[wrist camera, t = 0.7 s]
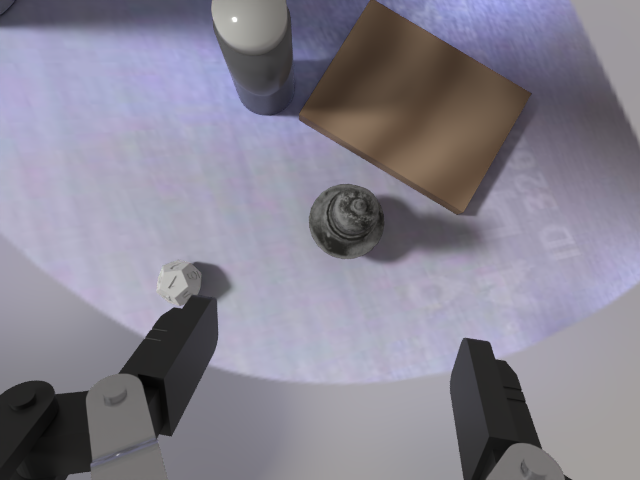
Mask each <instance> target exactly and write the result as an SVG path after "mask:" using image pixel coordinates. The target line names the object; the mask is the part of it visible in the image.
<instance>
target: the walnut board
mask: <svg viewBox="0 0 640 480" xmlns="http://www.w3.org/2000/svg"><path fill="white" fill-rule="evenodd" d="M531 94H532V93H530V92H528V91H527V90H525V89H523V88H522V87H520V86H518V85H516V84H515V83H513V82H511V81H510V80H508V79H506V78H505V77H503V76H501V75H500V74H498V73H496V72H495V71H493V70H491V69H490V68H488V67H486V66H485V65H483V64H481V63H479V62H478V61H476V60H474V59H473V58H471V57H469V56H468V55H466V54H464V53H463V52H461V51H459V50H458V49H456V48H454V47H453V46H451V45H449V44H448V43H446V42H444V41H443V40H441V39H439V38H437V37H436V36H434V35H432V34H431V33H429V32H427V31H426V30H424V29H422V28H421V27H419V26H417V25H416V24H414V23H412V22H411V21H409V20H407V19H406V18H404V17H402V16H400V15H399V14H397V13H395V12H394V11H392V10H390V9H389V8H387V7H385V6H384V5H382V4H380V3H379V2H377V1H375V0H370V1H369V3H368V4H367V6H366V8H365V9H364V11H363V12H362V14H361V16H360V17H359V19H358V20H357V22H356V24H355V25H354V27H353V28H352V30H351V32H350V33H349V35H348V36H347V38H346V40H345V41H344V43H343V44H342V46H341V48H340V49H339V51H338V52H337V54H336V56H335V57H334V59H333V60H332V62H331V64H330V65H329V67H328V68H327V70H326V72H325V73H324V75H323V76H322V78H321V80H320V81H319V83H318V84H317V86H316V88H315V89H314V91H313V92H312V94H311V96H310V97H309V99H308V100H307V102H306V104H305V105H304V107H303V108H302V110H301V112H300V113H299V120H300V121H301V122H303V123H305V124H306V125H308V126H310V127H311V128H313V129H315V130H316V131H318V132H320V133H321V134H323V135H325V136H326V137H328V138H330V139H331V140H333V141H335V142H336V143H338V144H340V145H341V146H343V147H345V148H346V149H348V150H350V151H351V152H353V153H355V154H356V155H358V156H360V157H361V158H363V159H365V160H366V161H368V162H370V163H371V164H373V165H375V166H376V167H378V168H380V169H381V170H383V171H385V172H386V173H388V174H390V175H391V176H393V177H395V178H396V179H398V180H400V181H401V182H403V183H405V184H406V185H408V186H410V187H411V188H413V189H415V190H417V191H418V192H420V193H422V194H423V195H425V196H427V197H428V198H430V199H432V200H433V201H435V202H437V203H438V204H440V205H442V206H443V207H445V208H447V209H448V210H450V211H452V212H453V213H455V214H457V215H458V214H460V213H463V212H464V210H465V209H466V207H467V205H468V203H469V202H470V200H471V198H472V196H473V195H474V193H475V191H476V189H477V188H478V186H479V184H480V182H481V181H482V179H483V177H484V176H485V174H486V172H487V170H488V169H489V167H490V165H491V163H492V162H493V160H494V158H495V156H496V155H497V153H498V151H499V149H500V148H501V146H502V144H503V142H504V141H505V139H506V137H507V136H508V134H509V132H510V130H511V129H512V127H513V125H514V123H515V122H516V120H517V118H518V116H519V115H520V113H521V111H522V109H523V108H524V106H525V104H526V102H527V101H528V99H529V97H530V96H531Z"/></svg>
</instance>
